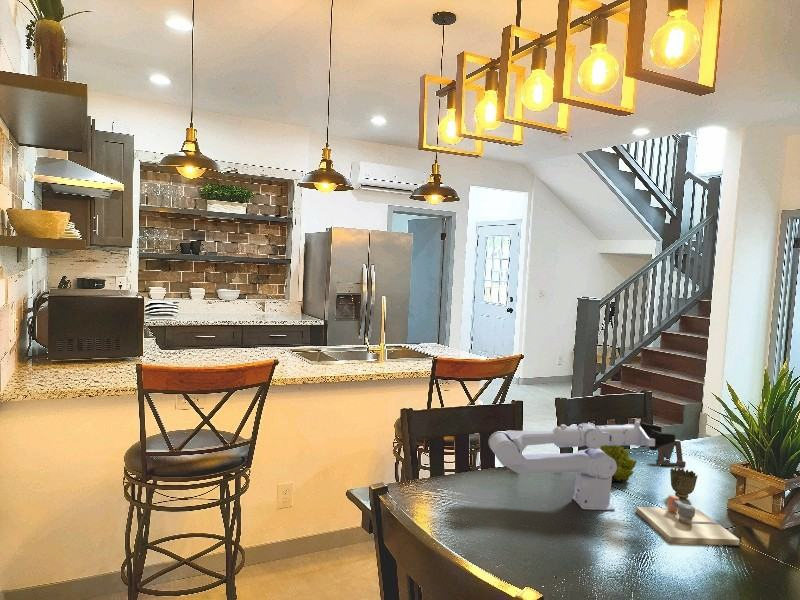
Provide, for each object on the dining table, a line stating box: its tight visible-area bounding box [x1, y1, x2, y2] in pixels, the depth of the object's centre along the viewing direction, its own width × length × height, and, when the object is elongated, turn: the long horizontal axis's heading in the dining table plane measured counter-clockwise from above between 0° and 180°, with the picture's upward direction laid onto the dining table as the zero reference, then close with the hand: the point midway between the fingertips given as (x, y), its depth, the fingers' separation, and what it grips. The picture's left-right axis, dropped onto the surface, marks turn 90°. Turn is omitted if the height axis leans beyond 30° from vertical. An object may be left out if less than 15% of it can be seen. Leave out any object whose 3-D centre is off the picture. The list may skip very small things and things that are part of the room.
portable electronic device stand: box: [656, 439, 686, 468], centre depth 207 cm, size 9×8×8 cm
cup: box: [669, 467, 699, 500], centre depth 174 cm, size 8×7×8 cm
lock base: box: [636, 506, 740, 546], centre depth 153 cm, size 18×18×4 cm
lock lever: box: [666, 494, 696, 518], centre depth 156 cm, size 10×4×4 cm, turn 3°
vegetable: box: [600, 445, 637, 483], centre depth 187 cm, size 15×16×15 cm
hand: (667, 434), depth 165 cm, fingers open, 7 cm apart
